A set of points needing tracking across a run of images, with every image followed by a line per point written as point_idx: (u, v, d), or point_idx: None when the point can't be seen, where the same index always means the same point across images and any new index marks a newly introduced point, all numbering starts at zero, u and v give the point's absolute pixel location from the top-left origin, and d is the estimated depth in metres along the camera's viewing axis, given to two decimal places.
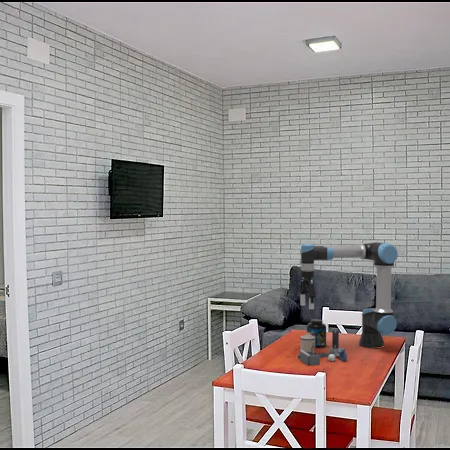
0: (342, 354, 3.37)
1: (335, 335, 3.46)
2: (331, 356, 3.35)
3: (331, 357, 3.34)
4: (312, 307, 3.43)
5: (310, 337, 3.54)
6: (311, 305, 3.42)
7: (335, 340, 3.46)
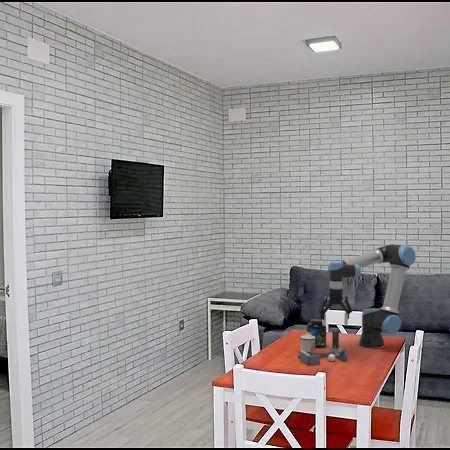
0: (342, 354, 3.37)
1: (335, 335, 3.46)
2: (331, 356, 3.35)
3: (331, 357, 3.34)
4: (324, 324, 3.45)
5: (310, 337, 3.54)
6: (323, 321, 3.45)
7: (335, 340, 3.46)
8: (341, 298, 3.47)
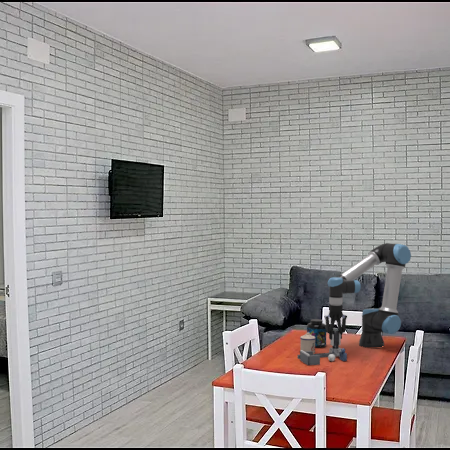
0: (342, 354, 3.37)
1: (335, 335, 3.46)
2: (331, 356, 3.35)
3: (331, 357, 3.34)
4: (331, 343, 3.46)
5: (310, 337, 3.54)
6: (331, 341, 3.47)
7: (335, 340, 3.46)
8: (341, 314, 3.47)
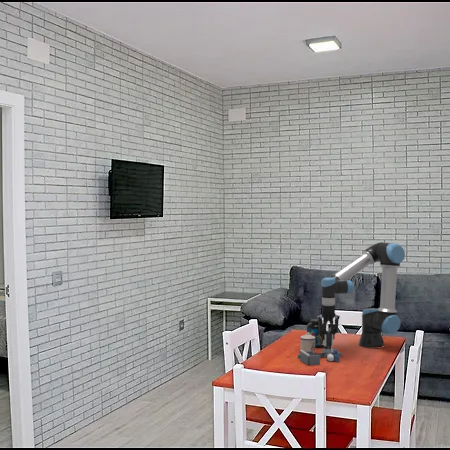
0: (334, 354, 3.35)
1: (328, 336, 3.44)
2: (330, 357, 3.34)
3: (330, 358, 3.34)
4: (324, 344, 3.45)
5: (310, 337, 3.54)
6: (323, 341, 3.46)
7: (328, 340, 3.44)
8: (334, 314, 3.46)
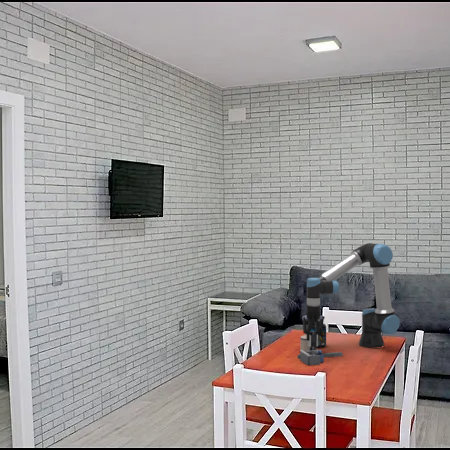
0: None
1: (312, 337, 3.42)
2: None
3: None
4: (309, 344, 3.43)
5: None
6: (308, 342, 3.43)
7: (313, 341, 3.42)
8: (318, 315, 3.43)
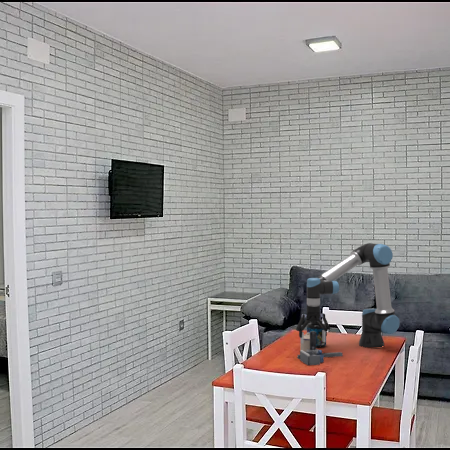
0: None
1: (312, 337, 3.42)
2: None
3: None
4: (301, 341, 3.42)
5: None
6: (301, 339, 3.42)
7: (313, 341, 3.42)
8: (318, 315, 3.43)
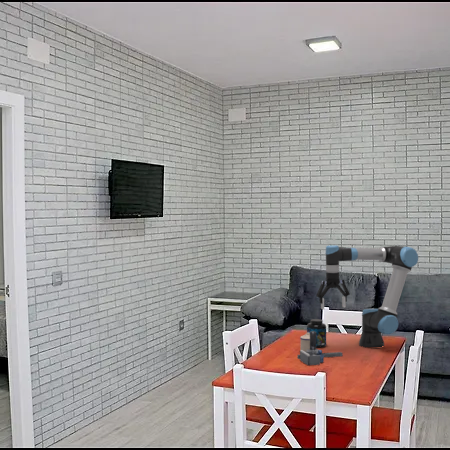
0: None
1: (312, 337, 3.42)
2: None
3: None
4: (322, 307, 3.49)
5: None
6: (321, 305, 3.50)
7: (313, 341, 3.42)
8: (338, 281, 3.51)
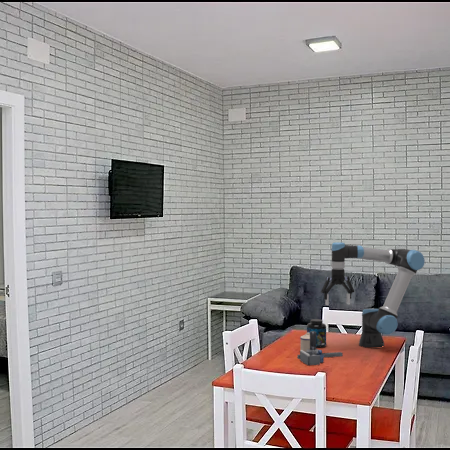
0: None
1: (312, 337, 3.42)
2: None
3: None
4: (326, 303, 3.52)
5: None
6: (326, 301, 3.52)
7: (313, 341, 3.42)
8: (343, 278, 3.53)
